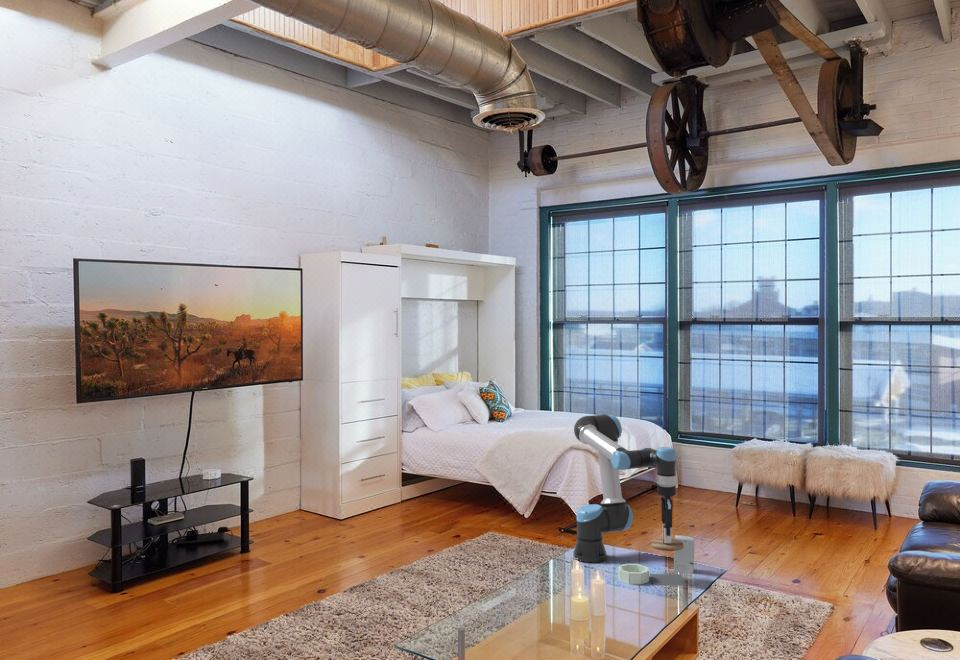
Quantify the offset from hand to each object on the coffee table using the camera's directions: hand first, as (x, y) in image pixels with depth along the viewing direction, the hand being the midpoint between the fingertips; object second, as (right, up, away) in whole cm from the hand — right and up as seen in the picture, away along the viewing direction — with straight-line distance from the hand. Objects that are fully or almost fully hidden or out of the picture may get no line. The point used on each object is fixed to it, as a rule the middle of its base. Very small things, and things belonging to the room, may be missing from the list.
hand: (667, 541), depth 297 cm
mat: (0, -16, 0) cm, 16 cm away
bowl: (-14, -17, +1) cm, 21 cm away
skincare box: (+10, -16, +11) cm, 22 cm away
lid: (0, -2, 0) cm, 2 cm away
